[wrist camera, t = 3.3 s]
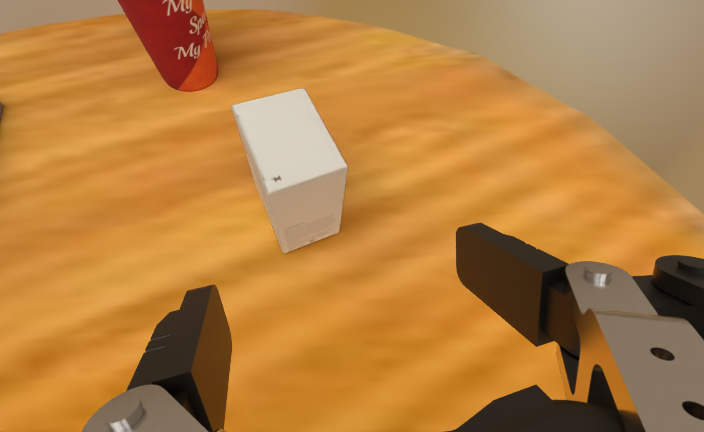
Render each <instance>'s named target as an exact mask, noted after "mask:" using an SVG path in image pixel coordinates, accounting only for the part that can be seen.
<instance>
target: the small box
mask: <svg viewBox="0 0 704 432" xmlns="http://www.w3.org/2000/svg"><path fill="white" fill-rule="evenodd" d="M232 110H233V114H234V117H235V120H236V124H237V127H238V130H239V133H240V136H241V140H242V143H243V146H244V149H245V153H246V156H247V159H248V162H249V166H250V169H251V172H252V176H253V179H254V182H255V185H256V187H257V190H258V192H259V195H260V197H261V200H262V202H263V205H264V207H265V210H266V212H267V214H268V217H269V219H270V222H271V224H272V227H273V229H274V232H275V234H276V237H277V239H278V242H279V244H280V247H281V250H282V252H283V253H287V252H289V251H292V250H295V249H297V248H300V247H302V246H305V245H308V244H310V243H313V242H315V241H318V240H321V239H323V238H326V237H329V236H331V235H334V234H336V233H339V230H340V223H341V216H342V208H343V201H344V193H345V186H346V178H347V171H348V165H347V164H346V162H345V160H344V158H343V156H342V154H341V153H340V151H339V149H338V147H337V145H336V144H335V142H334V140H333V138H332V136H331V135H330V133H329V131H328V129H327V127H326V126H325V124H324V122H323V120H322V119H321V117H320V115H319V113H318V111H317V110H316V108H315V106H314V104H313V102H312V100H311V99H310V97H309V95H308V93H307V91H306V89H305V88H302V89H297V90H293V91H288V92H284V93H280V94H276V95H272V96H268V97H263V98H259V99H255V100H251V101H247V102H243V103H239V104H235V105H233V106H232Z"/></svg>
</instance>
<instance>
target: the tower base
mask: <svg viewBox="0 0 704 432" xmlns="http://www.w3.org/2000/svg"><path fill="white" fill-rule="evenodd" d="M2 110H3V105H2V104H1V103H0V119H1V115H2Z"/></svg>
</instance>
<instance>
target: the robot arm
mask: <svg viewBox="0 0 704 432" xmlns="http://www.w3.org/2000/svg"><path fill="white" fill-rule="evenodd" d="M456 268H457V274H458V277H459V279H460V281H461V282H462V284H463V285H464V286H465V287H466V288H468V289H469V290H470V291H471V292H472V293H473V294H475V295H476V296H477V297H478V298H479V299H481V300H482V301H483V302H484V303H485V304H486V305H488V306H489V307H490V308H491V309H492V310H494V311H495V312H496V313H497V314H498V315H499V316H501V317H502V318H503V319H504V320H505V321H507V322H508V323H509V324H510V325H511V326H512V327H514V328H515V329H516V330H517V331H518V332H519V333H521V334H522V335H523V336H524V337H525V338H527V339H528V340H529V341H530V342H531V343H532V344H534V345H535V346H536V347H537V346H540V345H543V344H546V343H549V342H552V341H555V342H556V343H557V350H556V355H557V360H558V364H559V368H560V373H561V377H562V381H563V385H564V390H565V394H566V398H567V400H551V399H550V398H549V397H548V396H547V395H546V394H545V393H544V392H543V391H542V390H541V389H540V388H539V387H538V386H537V385H534V386H531V387H528V388H526V389H523V390H520V391H517V392H515V393H512V394H509V395H507V396H504V397H501V398H498V399H496V400H493V401H492V402H491V403H490V404H488V405H487V406H486V407H484V408H483V409H482V410H481V411H479V412H478V413H477V414H476V415H474V416H473V417H472V418H470V419H469V420H468V421H467V422H465V423H464V424H463V425H461V426H460V427H459V428H457V429H455V430H453V431H446V432H704V259H701V258H696V257H690V256H679V255H671V256H663V257H660V258H658V259H657V260H656V262H655V267H654V271H653V275H648V276H630V275H629V274H628V273H627V272H626V271H624V270H622V269H620V268H618V267H615V266H612V265H609V264H605V263H600V262H591V261H581V262H575V263H572V264H568V263H566V262H564V261H562V260H560V259H558V258H556V257H554V256H552V255H550V254H547V253H545V252H543V251H541V250H539V249H536V248H535V247H533V246H531V245H529V244H526V243H525V242H523V241H521V240H519V239H517V238H515V237H513V236H509V235H505V234H502V233H500V232H498V231H496V230H494V229H492V228H490V227H488V226H486V225H484V224H482V223H476V224H471V225H467V226H463V227H459V228H458V229H457V232H456ZM145 351H146V353H144V354H143V356H142V358H141V360H140V362H139V365H138V367H137V369H136V371H135V373H134V375H133V377H132V380H131V382H130V384H129V386H128V388H127V390H126V392H124V393H122V394H120V395H118V396H116V397H115V398H113V399H112V400H110V401H109V402H107V403H106V404H105V405H104V406H102V407H101V408H100V409H99V410H98V411H97V412H96V413H95V414H94V415H93V416H92V417H91V418H90V419H89V421H88V422H87V424H86V425H85V426H84V428H83V430H82V432H226V431H225V430H223V429H224V420H225V410H226V400H227V391H228V381H229V372H230V362H231V353H232V340H231V333H230V329H229V325H228V322H227V318H226V315H225V312H224V309H223V305H222V302H221V299H220V295H219V292H218V289H217V287H216V286H215V285H210V286H205V287H201V288H197V289H192V290H188V291H187V292H186V294H185V297H184V300H183V302H182V305H181V307H180V310H177V311H173V312H170V313H169V314H168V315H167V316H166V317H165V318H164V319H163V320H162V321H161V322H160V323H159V324H158V325H157V326H156V328H155V330H154V332H153V334H152V337H151V341H149V343H148V345H147V347H146V349H145Z"/></svg>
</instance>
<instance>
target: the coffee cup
mask: <svg viewBox="0 0 704 432" xmlns="http://www.w3.org/2000/svg"><path fill="white" fill-rule="evenodd" d="M118 2H119V3H120V5H121V7H122V8H123V10H124V12H125V14H126V16H127V17H128V19H129V21H130V23H131V24H132V26H133V28H134V29H135V31H136V33H137V35H138V36H139V38H140V40H141V42H142V43H143V45H144V47H145V48H146V50H147V52H148V54H149V55H150V57H151V59H152V60H153V62H154V64H155V65H156V67H157V69H158V70H159V72H160V74H161V75H162V77H163V78H164V80H165V81H166V83H167V84H168V85H169V86H171V87H172V88H174V89H177V90H180V91H197V90H201V89H204V88H206V87H208V86H209V85H211V84H212V83H213V82H214V81H215V80H216V78H217V75H218V67H217V62H216V57H215V52H214V48H213V43H212V39H211V34H210V30H209V26H208V21H207V17H206V13H205V8H204V4H203V0H118Z"/></svg>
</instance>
